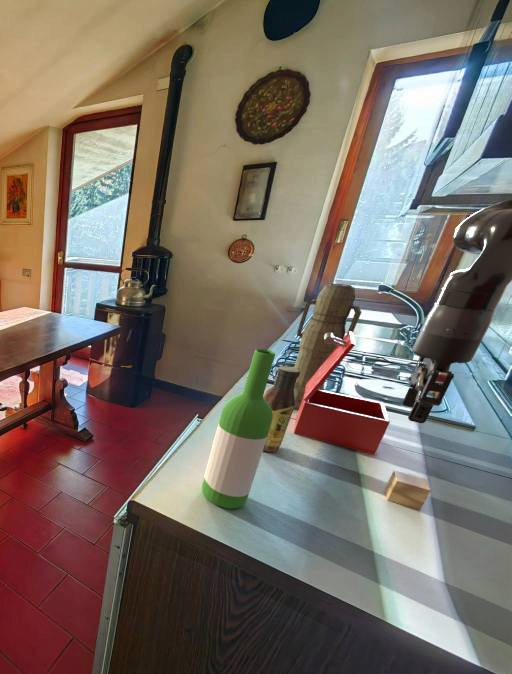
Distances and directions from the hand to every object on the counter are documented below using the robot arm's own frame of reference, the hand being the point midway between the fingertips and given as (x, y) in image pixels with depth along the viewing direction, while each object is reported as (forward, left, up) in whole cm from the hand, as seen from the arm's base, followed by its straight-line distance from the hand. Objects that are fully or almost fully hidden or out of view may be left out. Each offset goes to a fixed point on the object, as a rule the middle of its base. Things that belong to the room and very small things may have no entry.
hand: (412, 413), depth 75 cm
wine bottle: (+27, +24, -16) cm, 40 cm away
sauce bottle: (+20, -3, -16) cm, 26 cm away
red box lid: (+11, -21, +1) cm, 23 cm away
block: (-3, +5, -16) cm, 17 cm away
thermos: (+11, -36, -16) cm, 41 cm away
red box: (+5, -20, -16) cm, 26 cm away
